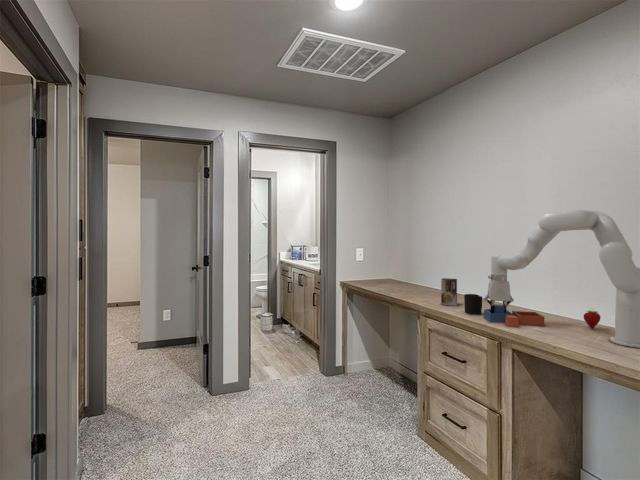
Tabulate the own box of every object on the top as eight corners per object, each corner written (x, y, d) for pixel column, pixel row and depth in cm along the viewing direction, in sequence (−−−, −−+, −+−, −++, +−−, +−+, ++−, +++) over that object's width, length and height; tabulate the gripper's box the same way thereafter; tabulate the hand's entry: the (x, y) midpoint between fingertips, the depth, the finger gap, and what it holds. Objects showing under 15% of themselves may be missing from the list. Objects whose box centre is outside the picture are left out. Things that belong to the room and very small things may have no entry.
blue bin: (506, 318, 196) (506, 309, 196) (513, 323, 185) (513, 314, 185) (484, 317, 198) (484, 308, 198) (489, 322, 187) (490, 313, 187)
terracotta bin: (535, 320, 191) (535, 311, 191) (544, 326, 180) (544, 316, 180) (512, 319, 193) (512, 311, 193) (519, 324, 182) (520, 315, 182)
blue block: (501, 313, 194) (501, 304, 193) (504, 315, 189) (504, 306, 189) (492, 312, 194) (492, 304, 194) (494, 314, 190) (495, 305, 190)
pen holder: (483, 312, 209) (484, 295, 209) (480, 315, 201) (480, 297, 201) (466, 310, 215) (466, 293, 214) (462, 313, 207) (462, 295, 207)
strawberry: (579, 327, 178) (580, 306, 178) (591, 326, 180) (592, 305, 180) (591, 330, 172) (592, 309, 172) (604, 329, 174) (604, 308, 174)
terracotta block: (515, 324, 182) (515, 315, 182) (518, 327, 178) (518, 317, 178) (505, 324, 183) (505, 315, 183) (508, 326, 179) (508, 317, 178)
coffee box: (457, 304, 233) (457, 278, 233) (456, 306, 227) (456, 279, 227) (442, 303, 237) (442, 277, 237) (440, 304, 231) (441, 279, 231)
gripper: (483, 278, 189) (482, 314, 189) (519, 279, 186) (518, 316, 187) (479, 276, 196) (479, 311, 197) (514, 277, 194) (513, 312, 194)
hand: (498, 313), depth 192 cm, fingers closed on blue block, 4 cm apart
